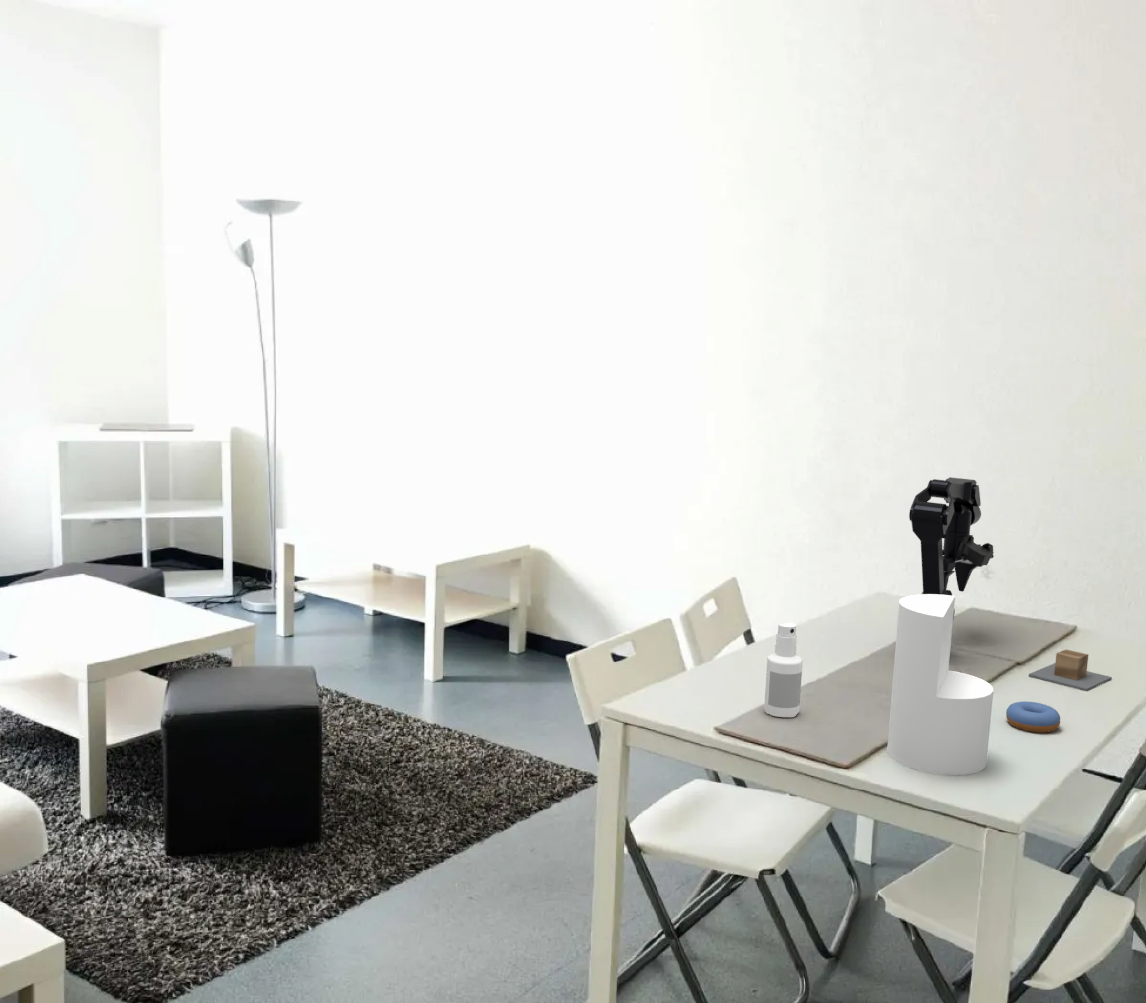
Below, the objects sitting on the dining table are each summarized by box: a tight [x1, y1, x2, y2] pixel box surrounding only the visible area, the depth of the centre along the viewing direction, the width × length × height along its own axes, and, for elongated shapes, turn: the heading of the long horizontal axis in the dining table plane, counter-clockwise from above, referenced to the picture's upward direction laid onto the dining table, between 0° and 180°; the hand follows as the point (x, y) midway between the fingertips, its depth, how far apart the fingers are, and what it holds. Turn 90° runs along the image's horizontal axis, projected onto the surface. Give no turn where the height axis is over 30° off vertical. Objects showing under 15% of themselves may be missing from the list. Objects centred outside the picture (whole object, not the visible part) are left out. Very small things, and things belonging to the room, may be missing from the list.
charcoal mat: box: [1028, 662, 1113, 692], centre depth 268 cm, size 13×13×1 cm
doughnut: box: [1005, 701, 1061, 734], centre depth 236 cm, size 10×10×5 cm
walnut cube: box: [1054, 649, 1089, 681], centre depth 267 cm, size 5×5×5 cm
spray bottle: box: [763, 622, 804, 715], centre depth 237 cm, size 7×7×18 cm
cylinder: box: [886, 593, 994, 776], centre depth 216 cm, size 17×17×28 cm
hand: (951, 594), depth 291 cm, fingers open, 9 cm apart
